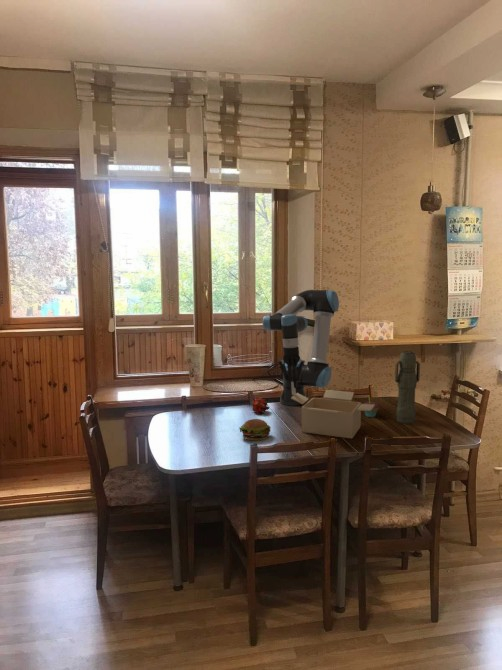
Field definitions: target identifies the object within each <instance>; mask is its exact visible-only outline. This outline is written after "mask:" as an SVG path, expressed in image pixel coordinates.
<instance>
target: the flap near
mask: <svg viewBox="0 0 502 670" xmlns="http://www.w3.org/2000/svg"><path fill="white" fill-rule="evenodd" d="M307 410H316V411H325V412H334V413H341V411H336V410H327V409H319V408H307Z"/></svg>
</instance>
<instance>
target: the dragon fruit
mask: <svg viewBox="0 0 502 670" xmlns="http://www.w3.org/2000/svg"><path fill="white" fill-rule="evenodd" d="M251 407H252V412H255V413H256V414H258V415H261V414H262V413H265V412H266V411H268V410H269V409H270V406H268V402H267V401H266V399H265V398H262V397H256V398H254V399H253V401H252V402H251Z"/></svg>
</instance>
